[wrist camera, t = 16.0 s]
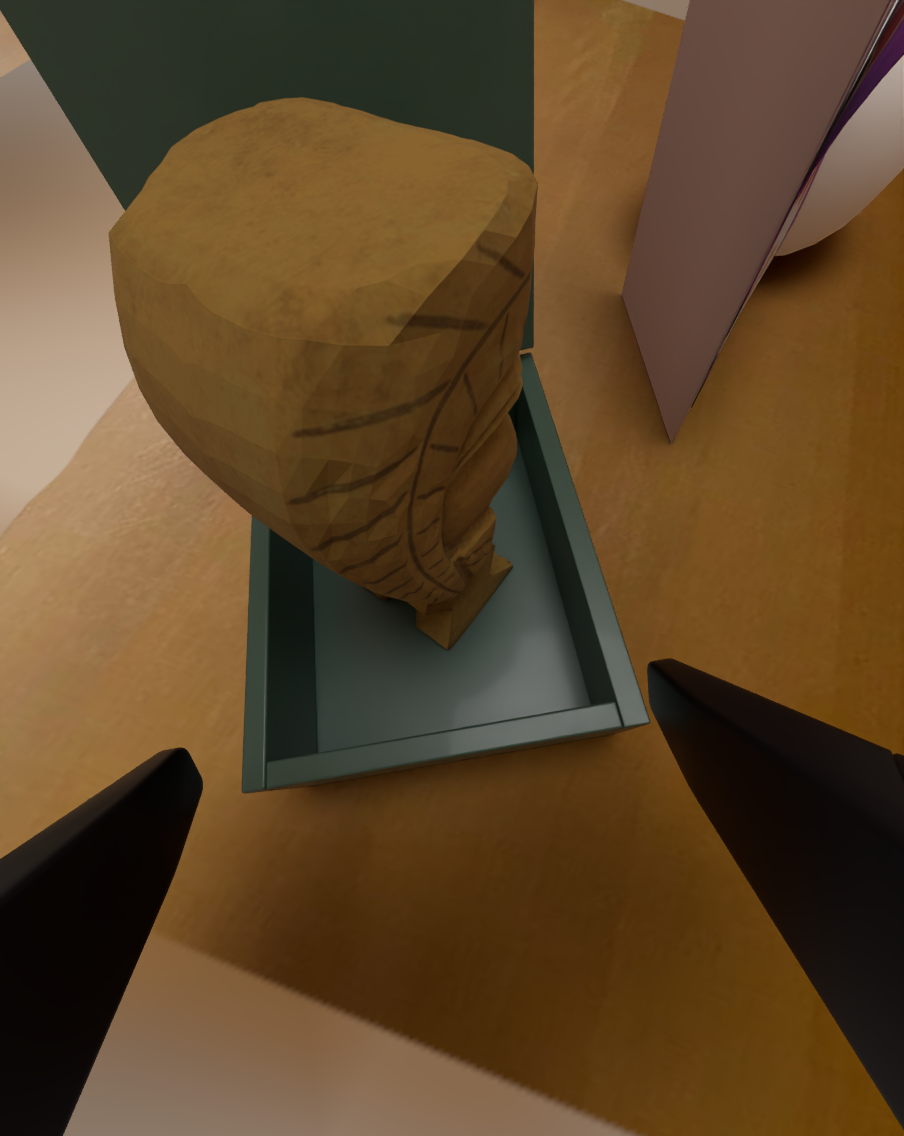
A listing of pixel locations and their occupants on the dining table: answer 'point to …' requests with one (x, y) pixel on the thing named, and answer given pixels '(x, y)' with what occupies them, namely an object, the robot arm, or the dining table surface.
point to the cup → (854, 164)
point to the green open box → (438, 645)
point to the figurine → (340, 336)
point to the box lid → (279, 69)
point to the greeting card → (740, 166)
